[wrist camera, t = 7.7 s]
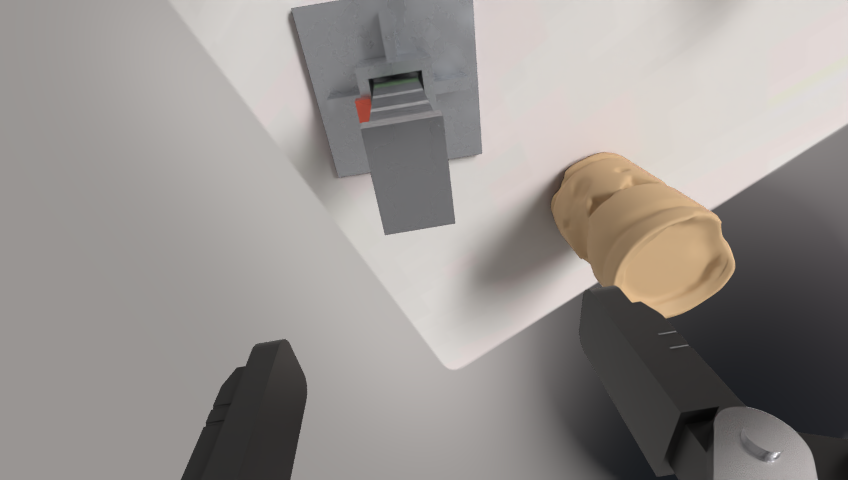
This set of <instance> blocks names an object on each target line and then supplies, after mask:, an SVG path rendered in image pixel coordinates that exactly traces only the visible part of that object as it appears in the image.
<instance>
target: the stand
mask: <svg viewBox="0 0 848 480" xmlns="http://www.w3.org/2000/svg"><path fill="white" fill-rule="evenodd" d="M291 10H292V13H293V17H294V21H295V24H296V28H297V31H298V35H299V38H300V42H301V45H302V49H303V53H304V56H305V60H306V63H307V67H308V70H309V74H310V78H311V81H312V85H313V88H314V92H315V95H316V99H317V102H318V106H319V110H320V113H321V117H322V120H323V124H324V127H325V131H326V135H327V138H328V142H329V145H330V149H331V152H332V156H333V159H334V163H335V167H336V170H337V174H338V177H345V176H351V175H357V174H363V173H369V172H370V168H369V164H368V159H367V155H366V151H365V146H364V142H363V138H362V133H361V124H362V123H363V122H369V119H370V112H371V105H372V98H373V91H374V84H375V83H377V82H383V81H389V80H395V79H401V78H407V77H413V76H417V77H418V80H419V82H420V84H421V86H422V88H423V90H424V92H425V94H426V96H427V98H428V100H429V103H430V105H431V107H432V109H433V111H435V110H441V112H442V114H443V118H444V127H445V136H446V145H447V154H448V159H453V158H459V157H465V156H471V155H477V154H482V144H481V127H480V110H479V94H478V77H477V61H476V44H475V28H474V11H473V0H338V1H332V2H326V3H320V4H314V5H308V6H302V7H296V8H291Z"/></svg>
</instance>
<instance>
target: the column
mask: <svg viewBox="0 0 848 480" xmlns="http://www.w3.org/2000/svg"><path fill="white" fill-rule="evenodd" d="M361 133H362V138H363V142H364V146H365V151H366V155H367V159H368V164H369V168H370V172H371V177H372V181H373V185H374V190H375V194H376V198H377V203H378V207H379V211H380V216H381V220H382V224H383V229H384V233H385V235H389V234H395V233H401V232H407V231H413V230H419V229H425V228H431V227H437V226H443V225H449V224H455V217H454V208H453V199H452V190H451V181H450V172H449V163H448V154H447V145H446V136H445V127H444V118H443V114H442V112H441V110H435V111H433V109H432V107H431V105H430V103H429V100H428V98H427V96H426V94H425V92H424V90H423V88H422V86H421V84H420V82H419V80H418V77H417V76H413V77H407V78H401V79H395V80H389V81H383V82H377V83H375V84H374V91H373V98H372V105H371V112H370V119H369V122H363V123H362V124H361Z"/></svg>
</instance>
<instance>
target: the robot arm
mask: <svg viewBox="0 0 848 480" xmlns="http://www.w3.org/2000/svg"><path fill="white" fill-rule="evenodd" d="M579 335H580V341H581V345H582V348H583V350H584V352H585V354H586V356H587V358H588V359H589V361H590V363H591V364H592V366H593V368H594V370H595V371H596V373H597V375H598V376H599V378H600V380H601V382H602V383H603V385H604V387H605V388H606V390H607V392H608V394H609V395H610V397H611V399H612V400H613V402H614V404H615V406H616V407H617V409H618V411H619V413H620V414H621V416H622V418H623V419H624V421H625V423H626V425H627V426H628V428H629V430H630V431H631V433H632V435H633V436H634V438H635V440H636V442H637V443H638V445H639V447H640V449H641V450H642V452H643V454H644V455H645V457H646V459H647V460H648V462H649V464H650V466H651V467H652V469H653V471H654V472H655V474H656V476H657V477H659V476H665V475H670V474H676V476H677V478H678V479H679V480H848V439H842V438H834V437H826V436H819V435H813V434H805V433H800V432H795V431H794V430H793V429H792V428H791V427H789V426H788V425H787V424H785V423H784V422H783V421H781V420H779V419H777V418H776V417H774V416H772V415H770V414H768V413H765V412H762V411H760V410H756V409H753V408H748V407H746V406H745V405H744V404H743V403H742V402H741V401H740V400H739V399H738V398H737V397H736V395H735V394H734V393H733V392H732V391H731V390H730V389H729V388H728V387H727V386H726V384H725V383H724V382H723V381H722V380H721V379H720V378H719V377H718V376H717V375H716V373H715V372H714V371H713V370H712V369H711V368H710V367H709V366H708V365H707V364H706V362H704V360H703V359H702V358H701V357H700V356H699V355H698V354H697V353H696V351H695V350H694V349H693V348H692V347H689V346H688V343H687V342H686V340H685V339H684V338H683V337H682V336H681V335H680V334H679V333H676V329H675V328H674V327H673V326H672V325H671V324H670V323H669V322H668V321H667V320H666V318H665V317H664V316H663V315H662V314H661V313H659V312H658V311H656V310H654V309H653V308H651V307H649V306H648V305H646V304H644V303H643V302H641V301H639V302H633V303H632V302H631V301H630V300H629V299H628V297H627V296H626V295H625V294H624V293H623V291H622V290H621V289H620V288H619V287H617V286H615V285H612V286H606V287H600V288H594V289H588V290H585V292H584V294H583V302H582V310H581V319H580V328H579ZM306 399H307V383H306V378H305V375H304V373H303V371H302V369H301V367H300V365H299V362H298V360H297V358H296V356H295V354H294V352H293V350H292V348H291V345H290V343H289V342H288V341H287V340H286V339H283V340H277V341H271V342H265V343H259V344H256V345H255V346H254V347H253V349H252V351H251V354H250V356H249V359H248V361H247V364H246V366H244V367H238V368H236V369H235V371H234V372H233V373H232V374H231V375H230V377H229V378H228V379H227V380H226V381H225V383H224V384H223V385H222V387H221V389H220V391H219V393H218V396H217V398H216V400H215V403H214V405H213V410H211V412H210V414H209V416H208V419H207V421H206V427H204V428H203V430H202V432H201V435H200V437H199V439H198V442H197V444H196V446H195V448H194V451H193V453H192V455H191V458H190V460H189V462H188V465H187V467H186V469H185V472H184V474H183V476H182V479H181V480H290V478H291V474H292V469H293V464H294V459H295V454H296V449H297V443H298V439H299V434H300V429H301V424H302V419H303V414H304V409H305V404H306Z"/></svg>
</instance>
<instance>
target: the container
mask: <svg viewBox="0 0 848 480" xmlns="http://www.w3.org/2000/svg"><path fill="white" fill-rule="evenodd" d="M551 210H552V213H553V217H554V220H555V223H556V225H557V227H558V229H559V231H560V233H561V235H562V236H563V237H564V239H565V240H566V241H567V242H568V244H569V245H570V246H571V247H572V249H573V250H574V251H575V252H576V254H577V255H578V256H579V258H581V259H584V260H586V261H587V262H588V263H590V264H591V268H592V270H593V273H594V276H595V277H596V279H597V280H598V282H599V283H600V284H601V285H602V286H603V287H606V286H612V285H615V286H617V287H619V288H620V289H621V290H622V291H623V293H624V294H625V295H626V296H627V297H628V299H629V300H630V301H631V302H632V303H633V302H639V301H641V302H643V303H644V304H646V305H648V306H649V307H651V308H653V309H654V310H656V311H658V312H659V313H661V314H662V315H663V316H664V317H665V318H669V317H673V316H676V315H679V314H681V313H684V312H686V311H688V310H690V309H692V308H693V307H695V306H697V305H698V304H700V303H701V302H703V301H704V300H706V299H708V298H709V297H711V296H712V295H713V294H715V293H716V292H717V291H719V290H720V289H721V288H722V287H723V286H724V285H725V284H726V282H727V281H728V280H729V279H730V277H731V275H732V274H733V272H734V269H735V261H734V258H733V254H732V252H731V249H730V247H729V245H728V243H727V242H726V241H725V239H724V238H723V236H722V232H721V221H720V219H719V218H718V216H717V215H716V214H714V213H712V212H711V211H709V210H707V209H706V208H705V207H703V206H702V205H700V204H698V203H697V202H695V201H694V200H692V199H690V198H689V197H687V196H686V195H684V194H682V193H681V192H679V191H678V190H676V189H674V188H672V187H669V186H667V185H666V184H665V183H664V182H663V181H661V180H660V179H658V178H656V177H655V176H653V175H651V174H650V173H648V172H647V171H645V170H644V169H642V168H640V167H639V166H637V165H635V164H634V163H632V162H630V161H629V160H627V159H626V158H624V157H622V156H620V155H618V154H614V153H607V152H603V153H597V154H595V155H592V156H589V157H587V158H585V159H584V160H582V161H580V162H577V163H575V164H574V165H572V166H571V167H570V168H569V169H568V170H566V171H565V176H564V179H563V181H562V184H561V187H560V189H559V191H558V192H557V193H556V194H555V195H554V196H553V198H552V201H551Z"/></svg>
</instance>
